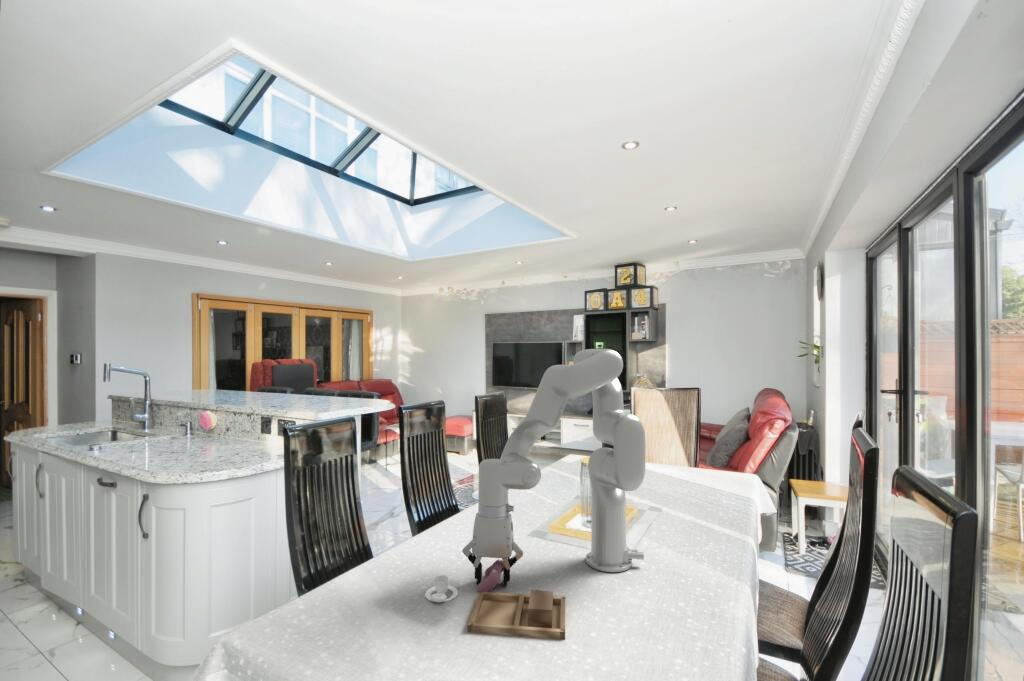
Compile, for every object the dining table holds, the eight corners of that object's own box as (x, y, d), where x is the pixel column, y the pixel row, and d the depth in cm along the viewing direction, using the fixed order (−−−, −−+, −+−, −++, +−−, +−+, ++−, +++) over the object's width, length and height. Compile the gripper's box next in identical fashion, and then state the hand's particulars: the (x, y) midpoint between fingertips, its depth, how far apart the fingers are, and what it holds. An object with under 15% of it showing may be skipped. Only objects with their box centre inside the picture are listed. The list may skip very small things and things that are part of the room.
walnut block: (552, 609, 105) (553, 591, 105) (551, 629, 97) (551, 610, 98) (530, 607, 106) (530, 589, 106) (527, 627, 98) (528, 608, 98)
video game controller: (490, 602, 112) (504, 576, 112) (474, 591, 113) (487, 566, 112) (499, 582, 122) (511, 559, 121) (484, 573, 122) (496, 550, 122)
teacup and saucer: (441, 609, 107) (441, 591, 107) (415, 599, 111) (415, 581, 111) (464, 592, 114) (465, 575, 114) (440, 584, 118) (440, 567, 118)
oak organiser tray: (565, 604, 108) (565, 596, 108) (565, 641, 94) (565, 632, 94) (479, 599, 110) (480, 591, 110) (467, 633, 96) (467, 625, 96)
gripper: (528, 506, 120) (527, 577, 120) (462, 503, 122) (461, 573, 122) (526, 516, 113) (525, 592, 112) (456, 512, 115) (455, 587, 114)
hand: (492, 581), depth 117 cm, fingers closed on video game controller, 6 cm apart
